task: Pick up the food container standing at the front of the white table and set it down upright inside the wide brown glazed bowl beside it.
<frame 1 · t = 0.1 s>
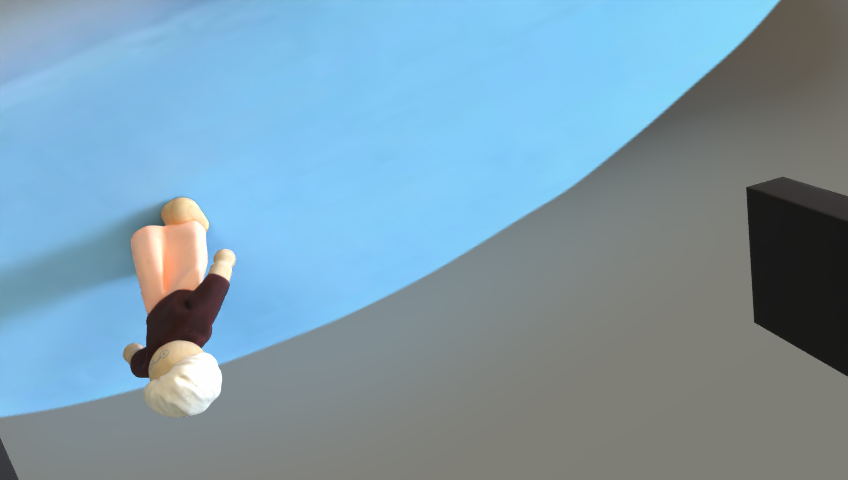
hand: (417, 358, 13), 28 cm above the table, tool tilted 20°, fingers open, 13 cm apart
grandmother figurine: (165, 237, 43), on the table
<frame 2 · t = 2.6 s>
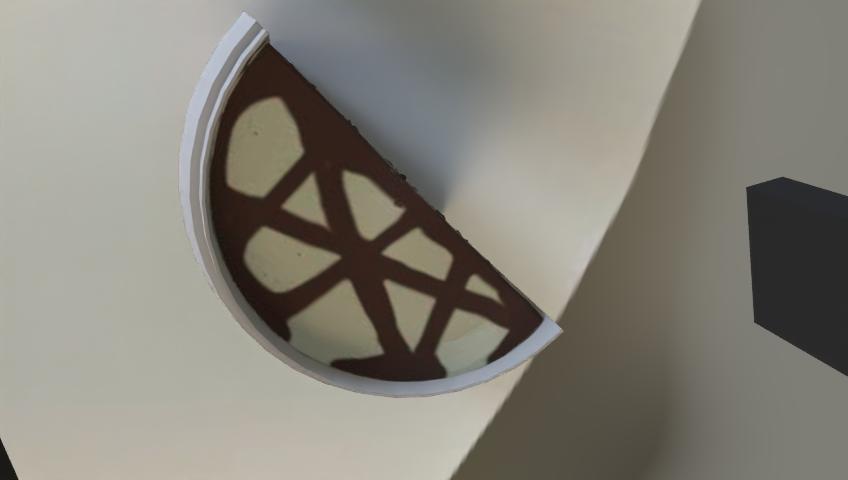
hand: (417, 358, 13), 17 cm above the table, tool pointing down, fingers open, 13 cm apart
food container: (299, 192, 29), on the table
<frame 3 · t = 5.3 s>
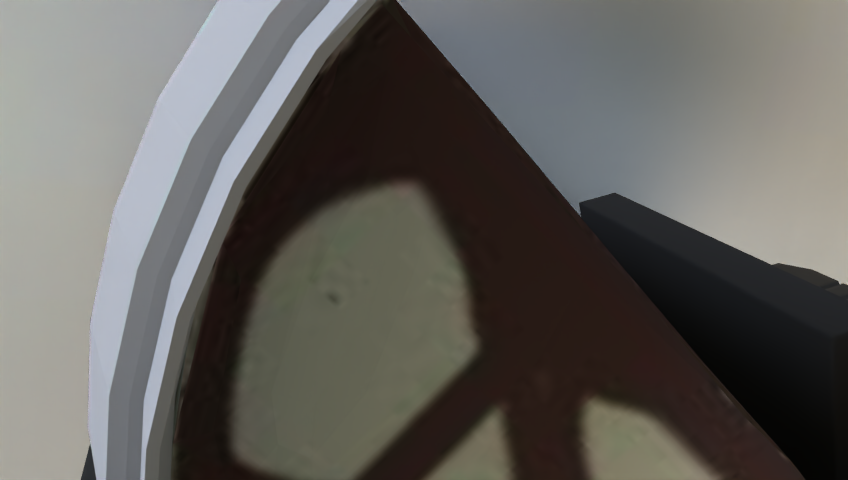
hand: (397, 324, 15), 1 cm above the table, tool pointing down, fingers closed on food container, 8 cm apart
food container: (357, 304, 16), on the table, touching gripper
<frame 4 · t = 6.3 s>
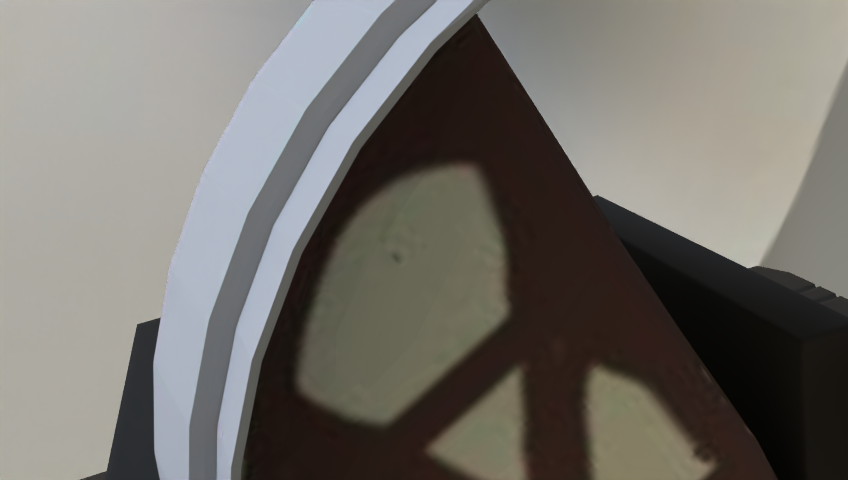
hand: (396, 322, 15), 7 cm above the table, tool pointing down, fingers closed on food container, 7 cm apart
food container: (343, 304, 17), point 4 cm above the table, touching gripper
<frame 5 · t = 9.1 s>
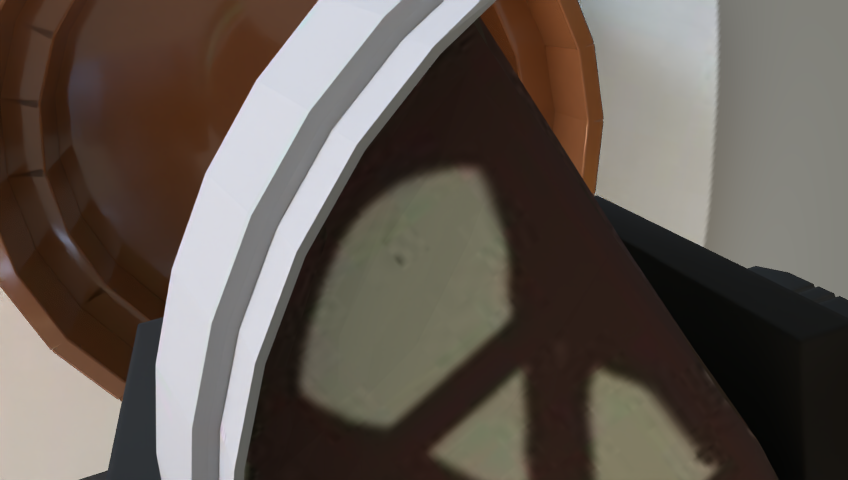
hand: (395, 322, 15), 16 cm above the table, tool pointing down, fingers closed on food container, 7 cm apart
food container: (344, 305, 17), point 14 cm above the table, touching gripper
bowl: (291, 127, 29), on the table
when the fingers open (3 cm above the table, at t = 12.4 s): food container stays where it is, resting on bowl.
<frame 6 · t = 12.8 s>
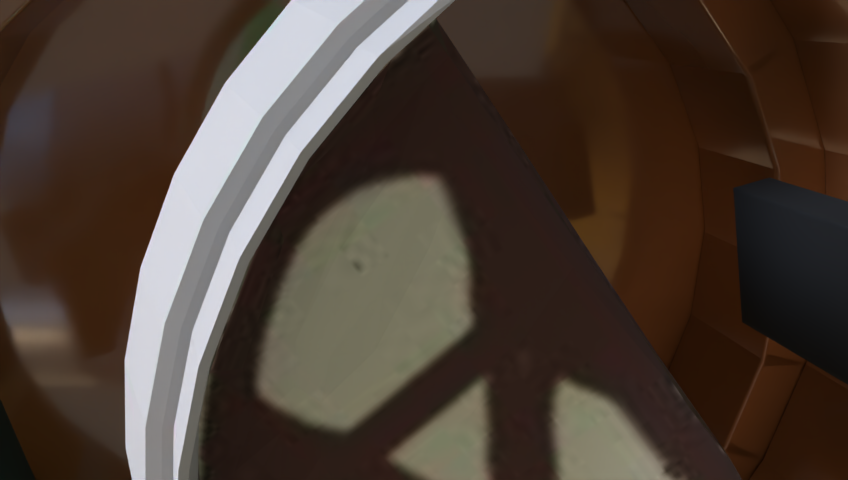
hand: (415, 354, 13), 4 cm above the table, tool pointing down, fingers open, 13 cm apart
food container: (348, 301, 17), resting on bowl
bowl: (368, 273, 17), on the table
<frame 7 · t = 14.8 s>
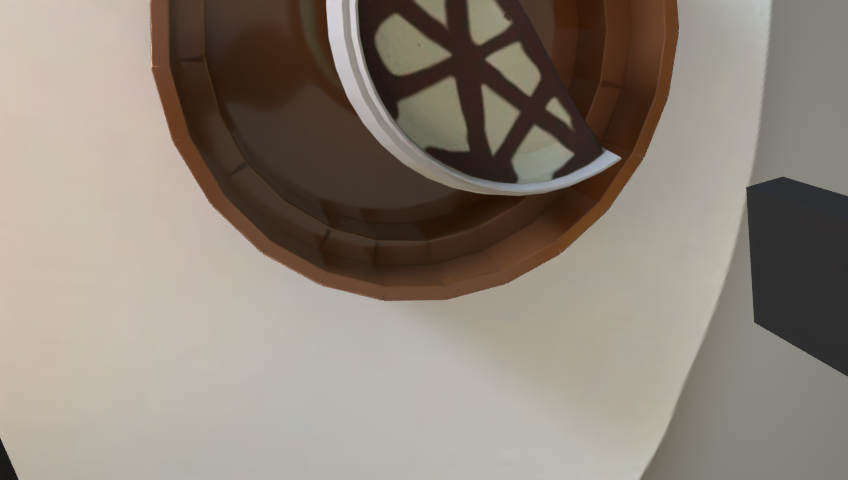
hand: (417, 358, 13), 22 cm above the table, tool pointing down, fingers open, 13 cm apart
food container: (389, 51, 33), resting on bowl
bowl: (399, 40, 34), on the table
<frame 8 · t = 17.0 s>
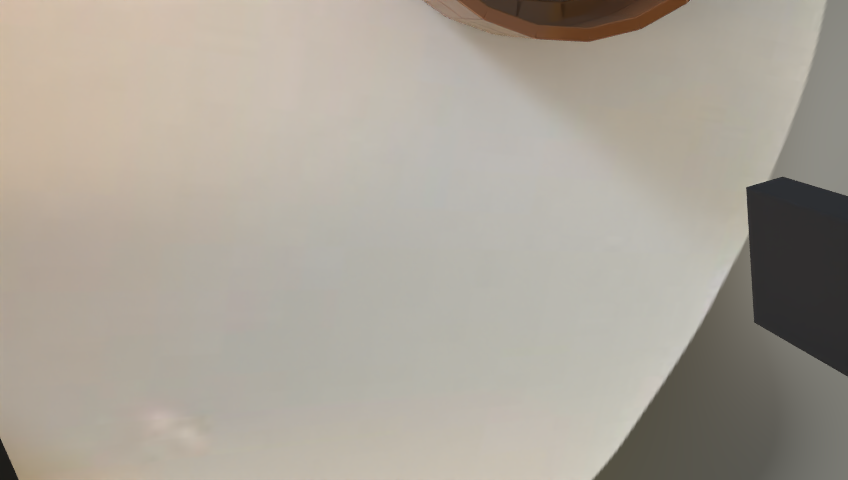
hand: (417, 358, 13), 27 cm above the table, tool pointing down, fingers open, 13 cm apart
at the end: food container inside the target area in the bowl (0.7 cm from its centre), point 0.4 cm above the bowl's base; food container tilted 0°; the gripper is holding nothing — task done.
